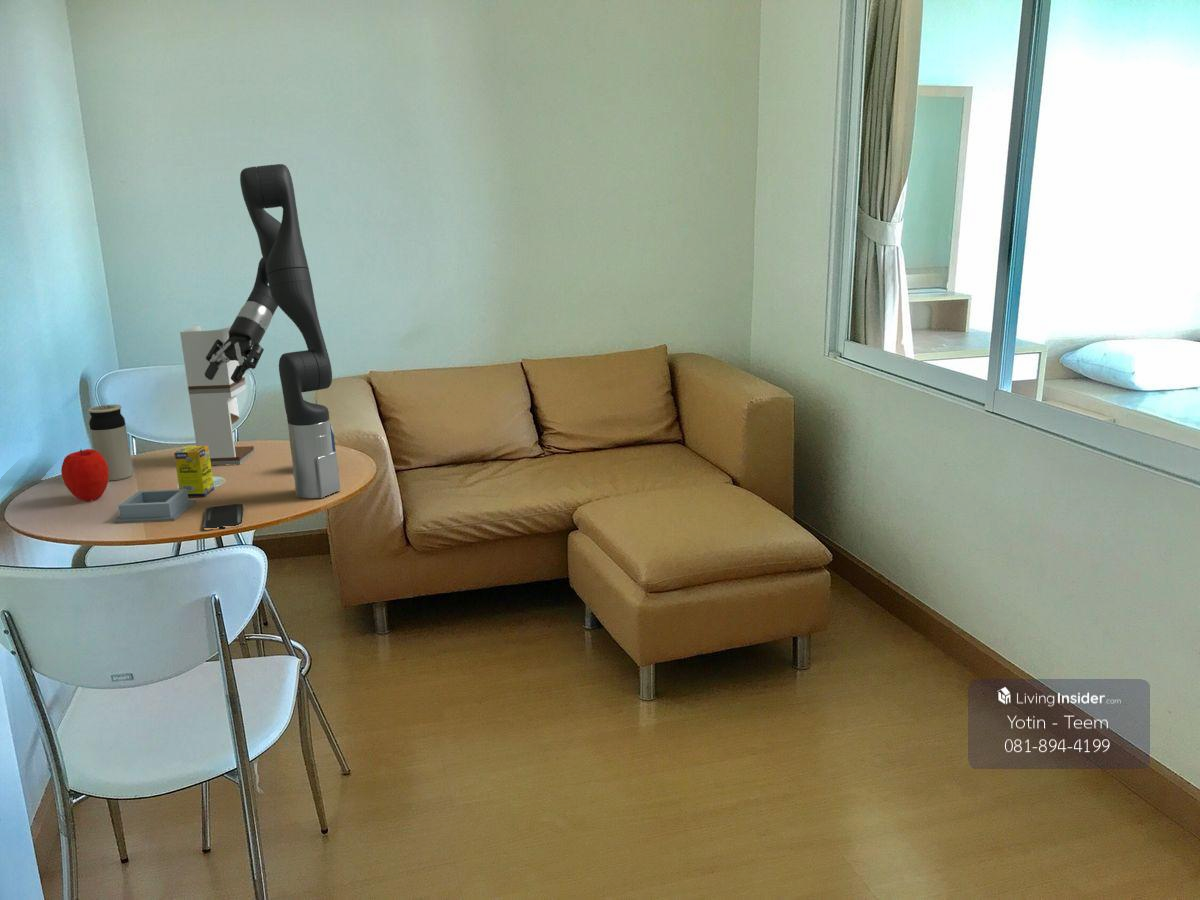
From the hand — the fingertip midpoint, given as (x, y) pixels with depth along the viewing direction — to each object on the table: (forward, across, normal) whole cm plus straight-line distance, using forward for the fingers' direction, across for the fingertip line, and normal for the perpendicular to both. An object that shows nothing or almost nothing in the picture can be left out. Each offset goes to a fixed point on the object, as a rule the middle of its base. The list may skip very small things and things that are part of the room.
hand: (221, 379), depth 237 cm
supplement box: (+26, 0, +10) cm, 28 cm away
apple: (+35, -21, +1) cm, 41 cm away
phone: (+34, +21, +1) cm, 40 cm away
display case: (+9, -17, +28) cm, 34 cm away
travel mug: (+25, -32, +12) cm, 42 cm away
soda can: (+7, +14, +29) cm, 33 cm away
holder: (+36, +3, -1) cm, 36 cm away
